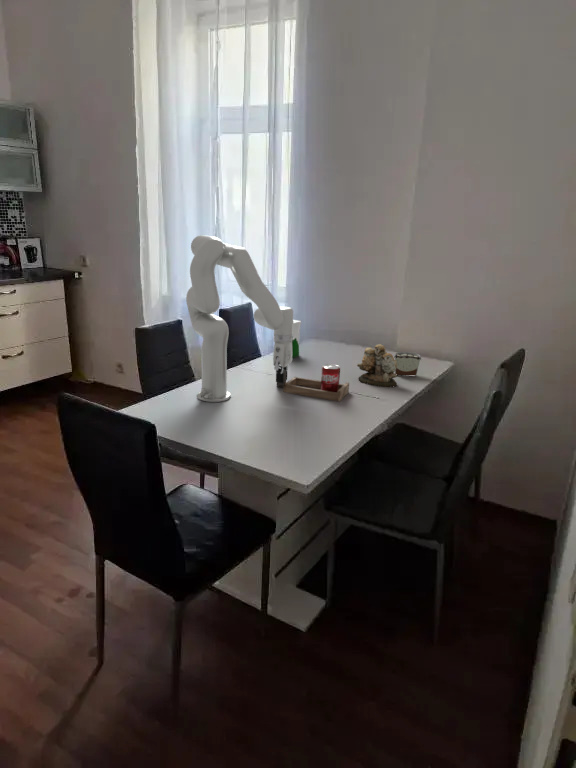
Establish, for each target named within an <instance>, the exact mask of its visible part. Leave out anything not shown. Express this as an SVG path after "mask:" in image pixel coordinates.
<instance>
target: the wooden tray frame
mask: <svg viewBox="0 0 576 768" xmlns="http://www.w3.org/2000/svg"><path fill="white" fill-rule="evenodd" d="M283 373H284V382H283V383H279V382H276V387H277V388H281V389H282V392H283V393H288V394H293V395H301V396H306V397H309V398H310V397H311V398H317V399H322V400H323V399H324V400H328V401H335V402H340V401H342V400H343V398H344V397H346V396H347V395H348V393H349V389H350V383H349V382H345V383H344V384H343V383H339V390H338V391H337V393H336V392H330V391H324V390H321V380H317V379H310V378H305V377H298V376H294V377H292V378H291V379H289V380H286V373H287V374H288V370H285V369H283Z"/></svg>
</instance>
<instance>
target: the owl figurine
mask: <svg viewBox="0 0 576 768" xmlns="http://www.w3.org/2000/svg"><path fill="white" fill-rule="evenodd" d="M363 354H364V355H363V357H362V360H361V363H357V365H356V366H357V367H359V369H360V371H365V373H362V375H360V376H359V377H358V379H357V380H358V382H359V381H360V382H359V383H360V384H364V385H365V384H366V385H369V386H375V387H381V388H394V387H393V386H395V387H396V386H397V381H396V380H395V379H394V378H397V377H398V376H397V375H396V374H395V370H396V368H397V367H396V366H397V361H396V360H395V358H394V355H393V354H392V353H389V352H387V351H386V347H385V346H384V345H382V344H381V343H379V344H376V345H375V347H374V349H373V348H372V347H366V348H365V350H364V353H363Z"/></svg>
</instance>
